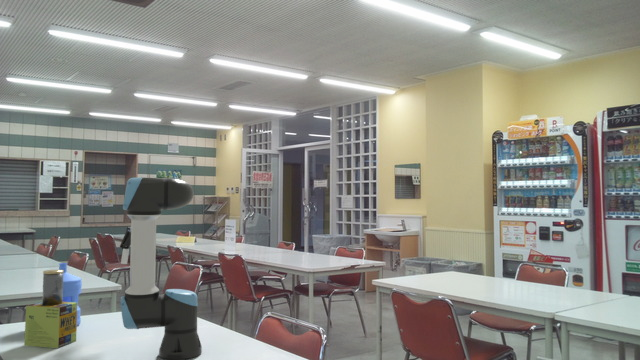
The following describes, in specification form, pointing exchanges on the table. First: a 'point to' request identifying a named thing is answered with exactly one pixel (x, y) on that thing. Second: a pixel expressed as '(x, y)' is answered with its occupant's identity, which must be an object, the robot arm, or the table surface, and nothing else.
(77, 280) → the water jug
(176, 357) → the robot arm
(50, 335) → the protein box
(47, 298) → the gold and gray tin
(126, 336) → the table surface
